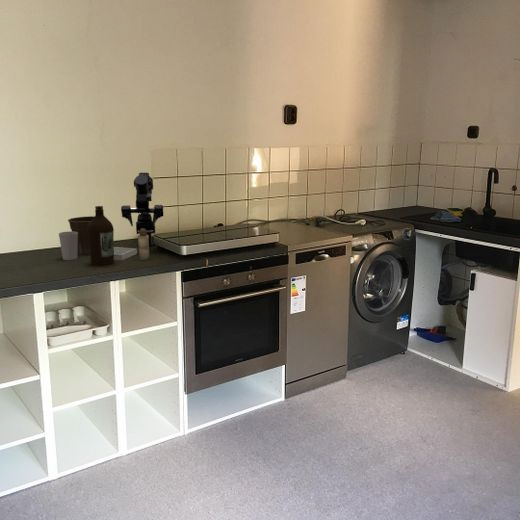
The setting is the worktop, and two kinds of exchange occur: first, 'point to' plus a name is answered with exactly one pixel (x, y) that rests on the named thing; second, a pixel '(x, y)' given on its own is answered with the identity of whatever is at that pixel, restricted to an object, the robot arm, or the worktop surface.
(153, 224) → the robot arm
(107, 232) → the olive oil
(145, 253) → the pepper mill
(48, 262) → the worktop surface
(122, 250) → the bin
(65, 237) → the cup
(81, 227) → the plant pot
